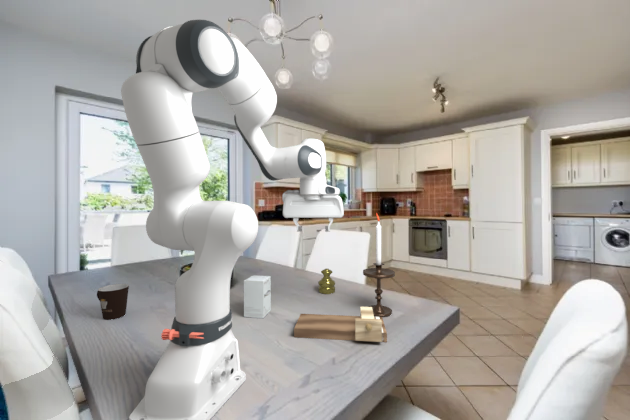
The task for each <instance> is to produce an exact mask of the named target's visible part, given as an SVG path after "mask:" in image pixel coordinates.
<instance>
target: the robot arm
mask: <svg viewBox="0 0 630 420" xmlns="http://www.w3.org/2000/svg"><path fill="white" fill-rule="evenodd" d="M135 57H136V58H135V59H136V60H135V63H136V69H135V73H134V74H132V75H130V76H128V78H127V79H125V81H123V83H122V85H121V89H120V93H121V94H120V95H121V99H122V104H123V108H124V109H123V110H124V113H125V115H126V119H127V123H128V127H129V129H130V131H131V135H132V137H133V139H134V142H135V144H136V147H137V149H138V151H139V154H140V156H141V158H142V161H143V163H144V166H145V168H146V171H147V174H148V176H149V179H150V181H151V186H152V190H153V206H152V210H151V211H150V212H149V213H148V215H147V217H146V221H145V222H146V223H145V230H146V234H147V236H148V238H149V239H150V241H151V242H152V243H154V244H156V245H158V246H160V247H164V248H167V249H170V250H175V251H189V252H190V251H193V252H194V256H193V257H194V258H193V262H192V264H191V266H190V269H188V270H186V271H184V272H183V273H182V274H181V275H180V276H179V277H178V278H177V280H176V281H175V284H174V298H175V299H174V300H175V301H174V303H175V304H174V305H175V316H174V318H173V320H172V324H171V328H170V329H169V328H164V329H163V330H162V332H161V333H160V334H161V335H160V336H161V340H162V341H167V340H169V342H168V344H167V346H166V348H165V349H164V351H162V354H161V356H160V358H159V359H158V362H157V363H156V364H155V367H154V369H153V370H152V372H151V373H150V374H149V377H148V379H147V381H146V383H145V391H144V392H145V393H144V396H143V397H142V398H141V400H140V402H138V404H137V406H136V407H135V408H134V409H133V410H132V412H131V413H130V415H129V416H128V420H211V419H212V418H213V417H214V415H216V414H217V412H218V411H220V409H221V408H222V407H223V406H224V404H226V402H227V401H228V400H229V399H230V398H231V397H232V396H233V395H234V394H235V392H236V391H237V390H238V389H239V388H240V387H241V386H242V385H243V384H244V383H245V381H246V380H247V375H246V372H245V371H243V370H242V369H241V362H240V361H241V360H240V351H239V342H238V341H239V340H238V339H237V338H236V337H235V335H234V333H233V331H232V328H233V313H232V312H233V311H232V309H231V308H230V305H231V304H230V302H231V300H230V299H231V297H230V295H231V281H232V279H231V278H232V273H233V270H234V267H235V265H236V263H237V261H238V260H239V258H240V257H241V256H242V254H243V253H244V252H245V251H246V250H247V249H249V248H250V247H252V245H253V243H254V242H255V241H256V239H257V235H258V232H259V221H258V217H257V214H256V212H255V211H254V209H253V208H252V207H251V206H250V205H249V204H244V203H240V202H235V201H231V200H203V199H202V196H201V193H200V185H201V184H202V183H203V182H204V181H205V180H206V179H207V177H208V175H209V174H210V171H211V163H210V160H209V157H208V154H207V151H206V148H205V145H204V142H203V139H202V136H201V133H200V130H199V127H198V124H197V121H196V118H195V117H194V114H193V110H192V109H193V108H192V98H193V94H195V93H199V92H200V93H201V92H203V91H207V90H210V89H216V90H218V91H219V92H220V94H221V96H223V98H224V100H225V101H226V102H227V104H228V105H229V106H230V108H231V109H232V110H233V113H234V117H233V120H234V124H235V127H236V129H237V131H238V132H239V134H240V136H241V138H242V139H243V141H244V143H245V145H247V147H248V149H249V150H250V152H251V154H252V155H253V156H254V159H255V160H256V161H257V163H258V166H259V169H260V171H261V173H262V174H263V176H264V177H265V178H266V179H268V180H270V181H279V180H280V181H281V180H286V179H288V180H289V179H298V178H299V189H293V190H291V189H287V190H286V191H284V192H283V193H282V197H281V198H282V203H283V205H282V216H283V217H284V218H285V219H290V218H291V219H292V220H293V221H292V222H293V224H295V226H296V232H299V233H300V232H303V229H302V228H303V226H302V225H300V224H299V220H300V218H302V219H303V218H304V219H305V218H306V219H309V218H312V219H313V218H314V219H319V218H321V219H323V218H325V219H327V218H328V223H329V224H328V225H325V226H324V227H325V230H324V231H325V232H326V233H328V232H331V226H332V224H333V222H334V219H335V218H336V219H338V218H339V219H340V218H341V219H342V218H343V217H344V216H345V214H344V213H345V210H344V209H345V208H344V203H343V199H342V197H341V196H340V194H341V190H340V188H339V187H335V186H332V185H331V184H327V176H326V171H327V153H326V148H325V147H326V146H325V143H324V142H323V141H321V140H320V139H317V138H312V137H309V138H305V139H302V141H301V143H299V144H297V145H290V146H286V147H285V146H284V147H274V146H272V145H271V144H270V142H269V141H268V139H267V137H266V135H265V133H264V132H263V130H262V128H261V127H262V126H264V125H265V124H266V123H267V122H268V121H269V120H270V118H272V116H273V114H274V113H275V111H276V107H277V103H278V96H277V92H276V90H275V87H274V85H273V83H272V82H271V81H270V79H269V77H268V75H267V74H266V72H265V71H264V69H263V68H262V67H261V65H260V63H259V62H258V61H257V60H256V57H254V55H253V54H252V53H251V52H250V51H249V50H248V48H247V47H246V46H245V45H244V43H242V42H241V41H240V40H239V39H237V37H235V36H231V35H229V34H228V32H226V31H225V30H224V29H223V28H222V27H221V26H219V25H218V24H217V23H215V22H213V21H211V20H206V19H191V20H187V21H185V22H184V23H181V24H176V25H173V26H171V25H170V26H167V27H164V28H163V29H161V30H159V31H157V32H156V33H154V34H153V35H150V36H148V37H146V38H145V39H144V40H143V41H142V42H141V43H140V44H139V47H138V48H137V52H136V56H135Z"/></svg>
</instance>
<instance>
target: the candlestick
mask: <svg viewBox="0 0 630 420" xmlns="http://www.w3.org/2000/svg"><path fill="white" fill-rule="evenodd" d="M375 216H376V220H377V225H375V262H374V263H372V265H374V266H375V267H369V268H364V269H363V270H362V275H363V276H365V277H367V278H372V279H376V288H375V289H374V292H375V294H376V296H375V298H374V299H375V300H376V304H372V305H368V306H367V307H372V309H373V314H374V317H382V318H388V317H391V316H392V315H391V314H393V310H392V308H391V307H389V306H385V305H382V302H381V300H383V296H382V294H383V292H384V291H383V289H382V288H381V287H382V284H381V280H383V279H391V278H393V277H395V276H396V274H395V271H394V270H392V269H389V268H383V266H385V263H383V262H382V225H381V223H380V221H381V220H380V217H379V215H378V213H377V212H376V215H375ZM390 315H391V316H390Z"/></svg>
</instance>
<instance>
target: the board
mask: <svg viewBox="0 0 630 420" xmlns="http://www.w3.org/2000/svg"><path fill="white" fill-rule="evenodd" d="M355 318H360V315H345V314H344V315H342V314H341V315H338V314H319V313H317V314H315V313H300V314H299V317H298V319H297V320H296V323H295V325H294V328H293V335H294V337H293V338H297V339H298V338H300V339H301V338H303V339H320V340H339V341H356V340H355ZM374 318H375V319H381V321H382V342H381V343H387V342H388V333H387V332H388V331H387V329H386V325H385V323H384V317H374ZM356 342H357V341H356ZM371 342H373V343H374V341H371Z"/></svg>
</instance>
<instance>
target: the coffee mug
mask: <svg viewBox="0 0 630 420" xmlns="http://www.w3.org/2000/svg"><path fill="white" fill-rule="evenodd" d="M129 288H130V284H128V283H116V284H115V283H114V284H110V285H109V284H108V285H104V286H102V287H100V288H98V289H97V292H96V297H97V299H98V301H99V304H100V311H101V315H102V319H103V320H104V321H112V320H111V319H113V320H116V319H117V318H118V319H120V317H121V318H123V317H124V315H125V314H127V306H128V296H129V290H130V289H129ZM125 316H126V315H125Z"/></svg>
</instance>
